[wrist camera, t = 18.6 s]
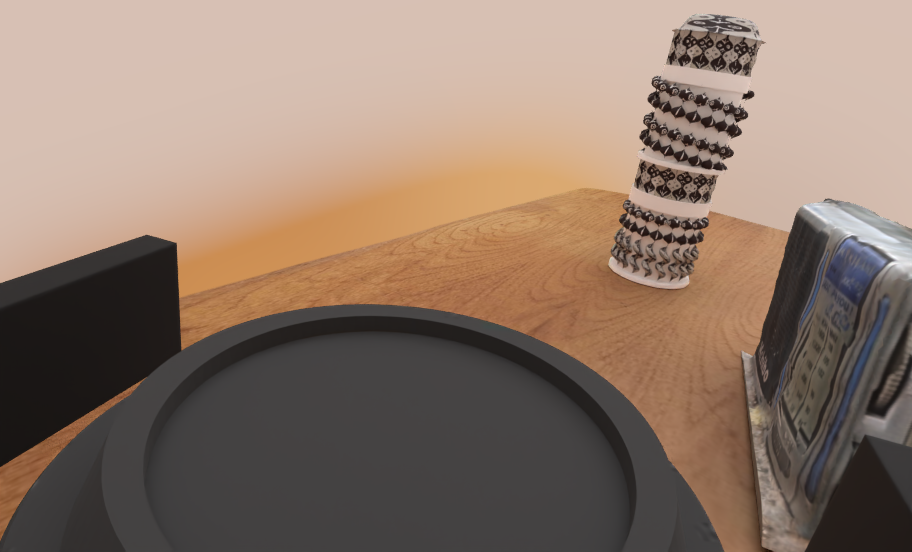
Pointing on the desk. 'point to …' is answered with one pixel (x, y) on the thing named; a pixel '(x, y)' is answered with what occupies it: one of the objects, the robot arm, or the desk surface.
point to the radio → (828, 363)
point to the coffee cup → (365, 449)
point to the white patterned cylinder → (685, 148)
